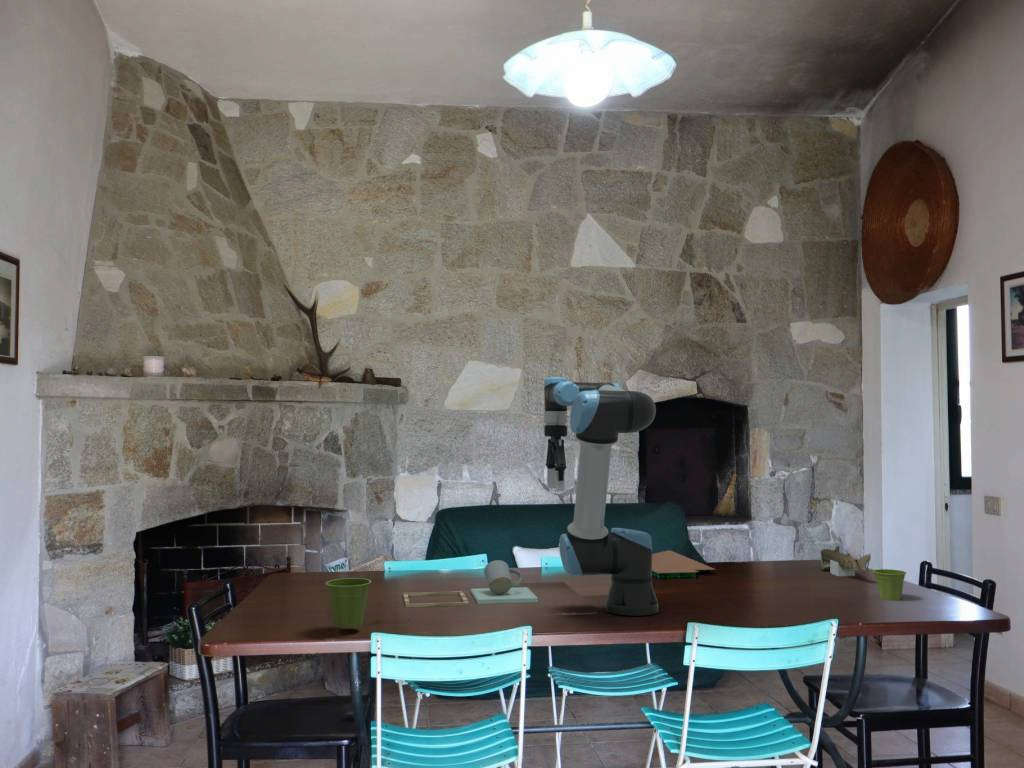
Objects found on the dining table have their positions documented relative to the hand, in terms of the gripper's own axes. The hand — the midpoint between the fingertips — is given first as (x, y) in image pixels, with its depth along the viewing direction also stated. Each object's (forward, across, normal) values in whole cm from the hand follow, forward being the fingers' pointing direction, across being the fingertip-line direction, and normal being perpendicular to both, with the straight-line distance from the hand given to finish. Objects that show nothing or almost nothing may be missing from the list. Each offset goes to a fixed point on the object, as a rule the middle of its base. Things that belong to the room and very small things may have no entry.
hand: (555, 489), depth 287 cm
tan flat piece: (+32, +25, -48) cm, 63 cm away
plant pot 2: (+32, -33, -97) cm, 107 cm away
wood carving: (+32, +3, -103) cm, 108 cm away
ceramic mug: (+31, -13, +19) cm, 38 cm away
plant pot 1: (+32, -45, +65) cm, 85 cm away
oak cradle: (+32, -15, +40) cm, 53 cm away
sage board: (+32, -13, +19) cm, 39 cm away
